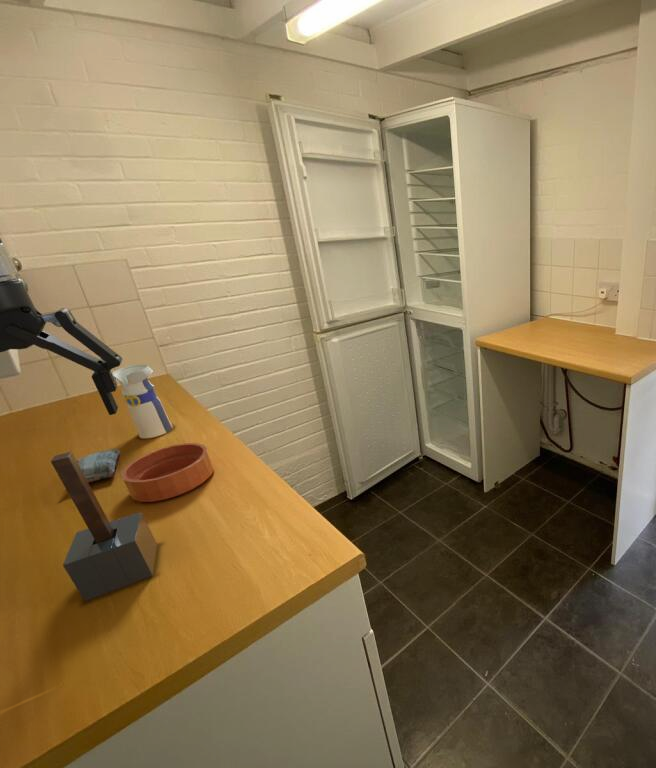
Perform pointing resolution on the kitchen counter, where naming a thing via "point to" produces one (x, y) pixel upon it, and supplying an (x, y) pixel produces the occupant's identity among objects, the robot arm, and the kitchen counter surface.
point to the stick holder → (112, 557)
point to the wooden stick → (83, 496)
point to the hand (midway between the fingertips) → (54, 424)
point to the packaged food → (99, 465)
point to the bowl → (167, 472)
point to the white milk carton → (142, 401)
